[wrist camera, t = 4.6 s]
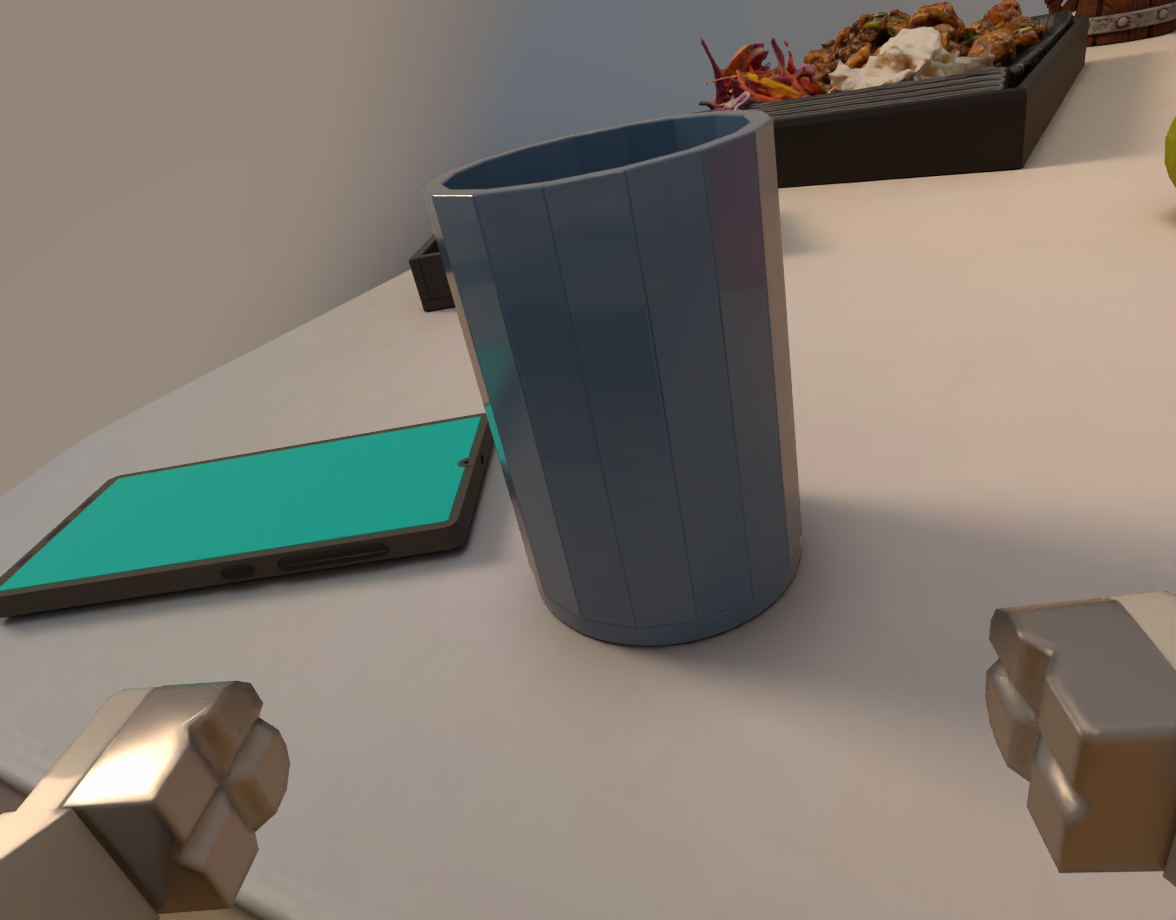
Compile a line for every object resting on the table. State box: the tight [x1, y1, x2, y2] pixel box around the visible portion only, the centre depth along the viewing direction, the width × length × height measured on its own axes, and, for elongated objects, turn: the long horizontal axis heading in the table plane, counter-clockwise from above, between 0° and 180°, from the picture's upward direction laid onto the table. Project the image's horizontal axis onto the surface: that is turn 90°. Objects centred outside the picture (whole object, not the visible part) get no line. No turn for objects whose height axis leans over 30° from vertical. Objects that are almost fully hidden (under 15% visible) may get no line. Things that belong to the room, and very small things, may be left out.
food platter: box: [690, 0, 1089, 187], centre depth 66 cm, size 45×25×10 cm, turn 147°
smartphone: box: [0, 413, 493, 618], centre depth 25 cm, size 7×1×15 cm
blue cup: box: [422, 110, 802, 646], centre depth 17 cm, size 7×7×10 cm
